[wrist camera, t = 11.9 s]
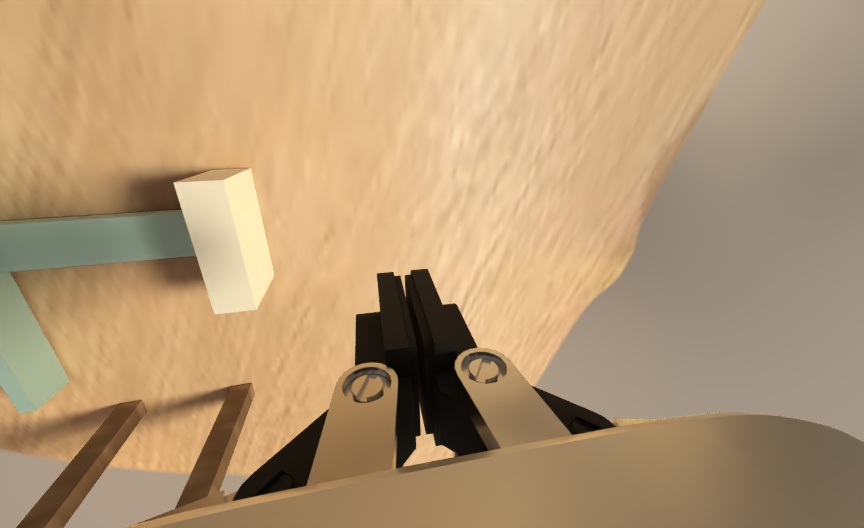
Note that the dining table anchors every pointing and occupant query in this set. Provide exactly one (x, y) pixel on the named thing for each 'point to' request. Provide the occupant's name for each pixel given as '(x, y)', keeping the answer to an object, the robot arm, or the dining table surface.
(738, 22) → the dining table surface
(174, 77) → the dining table surface
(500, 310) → the dining table surface
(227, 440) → the tunnel
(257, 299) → the mint t-bar
